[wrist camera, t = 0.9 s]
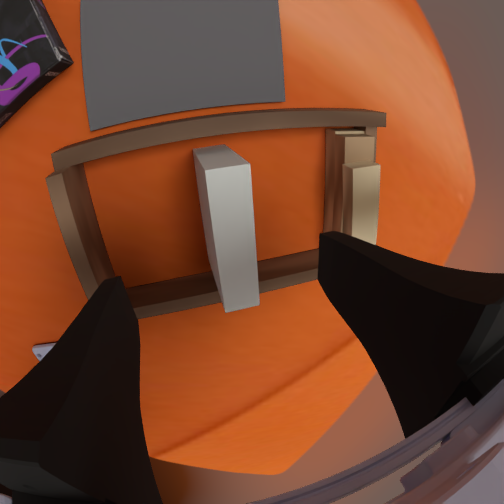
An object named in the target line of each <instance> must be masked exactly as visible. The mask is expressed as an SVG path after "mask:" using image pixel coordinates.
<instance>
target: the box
mask: <svg viewBox="0 0 504 504" xmlns="http://www.w3.org/2000/svg"><path fill="white" fill-rule="evenodd" d="M73 63H74V62H73V61H72V59H71V57H70V55H69V53H68V51H67V49H66V48H65V46H64V44H63V42H62V40H61V38H60V36H59V34H58V32H57V30H56V28H55V26H54V24H53V22H52V20H51V18H50V16H49V14H48V12H47V10H46V8H45V6H44V4H43V2H42V0H0V128H1V127H2V126H3V125H4V124H5V123H6V122H7V121H8V120H9V119H10V118H11V117H12V116H13V115H14V114H15V113H16V112H17V111H18V110H19V109H20V108H21V107H22V106H23V105H24V104H25V103H26V102H27V101H28V100H29V99H30V98H31V97H32V96H34V95H35V94H36V93H37V92H38V91H39V90H40V89H41V88H43V87H44V86H45V85H46V84H47V83H49V82H50V81H51V80H52V79H54V78H55V77H56V76H57V75H58V74H60V73H61V72H62V71H64V70H65V69H66V68H68V67H69V66H70V65H71V64H73Z"/></svg>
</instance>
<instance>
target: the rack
mask: <svg viewBox="0 0 504 504" xmlns="http://www.w3.org/2000/svg"><path fill="white" fill-rule="evenodd" d="M328 126H354V129H358V130H362V131H364V134H367V135H370V136H374V137H375V139H374V160H373V162H375V160H376V139H377V127H386V113H384V112H378V111H372V110H366V109H347V108H290V109H268V110H254V111H242V112H231V113H222V114H213V115H206V116H198V117H191V118H185V119H179V120H173V121H167V122H161V123H156V124H151V125H146V126H141V127H137V128H132V129H128V130H123V131H119V132H115V133H111V134H107V135H103V136H100V137H96V138H92V139H89V140H85V141H82V142H78V143H75V144H72V145H69V146H65V147H63V148H61V149H59V150H58V151H56V152H54V153H52V154H51V156H52V161H53V165H54V170H55V171H54V172H53V173H52V174H50V175H49V176H48V177H46V178H45V179H46V183H47V186H48V190H49V194H50V197H51V201H52V204H53V208H54V211H55V214H56V218H57V221H58V224H59V227H60V230H61V233H62V236H63V238H64V241H65V244H66V247H67V250H68V252H69V255H70V258H71V260H72V263H73V265H74V268H75V270H76V273H77V275H78V278H79V280H80V282H81V285H82V287H83V289H84V292H85V294H86V296H87V298H88V300H89V299H90V298H91V296H92V295H93V293H94V292H95V291H96V289H97V288H98V287H99V285H100V284H101V283H102V282H103V281H104V280H105V279H109V278H113V277H115V274H114V271H113V268H112V265H111V263H110V260H109V257H108V254H107V251H106V248H105V244H104V241H103V238H102V235H101V232H100V228H99V225H98V221H97V218H96V214H95V211H94V207H93V203H92V200H91V196H90V192H89V188H88V184H87V179H86V175H85V171H84V166H83V162H87V161H91V160H94V159H98V158H102V157H106V156H110V155H114V154H118V153H122V152H126V151H131V150H135V149H140V148H144V147H149V146H154V145H159V144H165V143H170V142H176V141H181V140H187V139H193V138H200V137H207V136H214V135H221V134H229V133H238V132H247V131H258V130H269V129H283V128H300V127H328ZM318 259H319V248H318V249H314V250H309V251H305V252H300V253H295V254H291V255H286V256H281V257H277V258H272V259H267V260H263V261H258V262H257V270H258V285H259V293H264V292H268V291H272V290H276V289H280V288H284V287H288V286H293V285H297V284H301V283H305V282H308V281H312V280H316V279H317V277H318ZM126 292H127V294H128V297H129V300H130V302H131V304H132V307H133V309H134V312H135V314H136V317H137V319H141V318H146V317H152V316H157V315H162V314H167V313H172V312H177V311H182V310H187V309H192V308H196V307H201V306H206V305H210V304H215V303H220V302H222V301H221V297H220V294H219V291H218V288H217V285H216V282H215V278H214V275H213V272H212V271H210V272H205V273H201V274H196V275H191V276H186V277H181V278H176V279H171V280H166V281H162V282H157V283H152V284H147V285H142V286H137V287H132V288H127V289H126Z"/></svg>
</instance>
